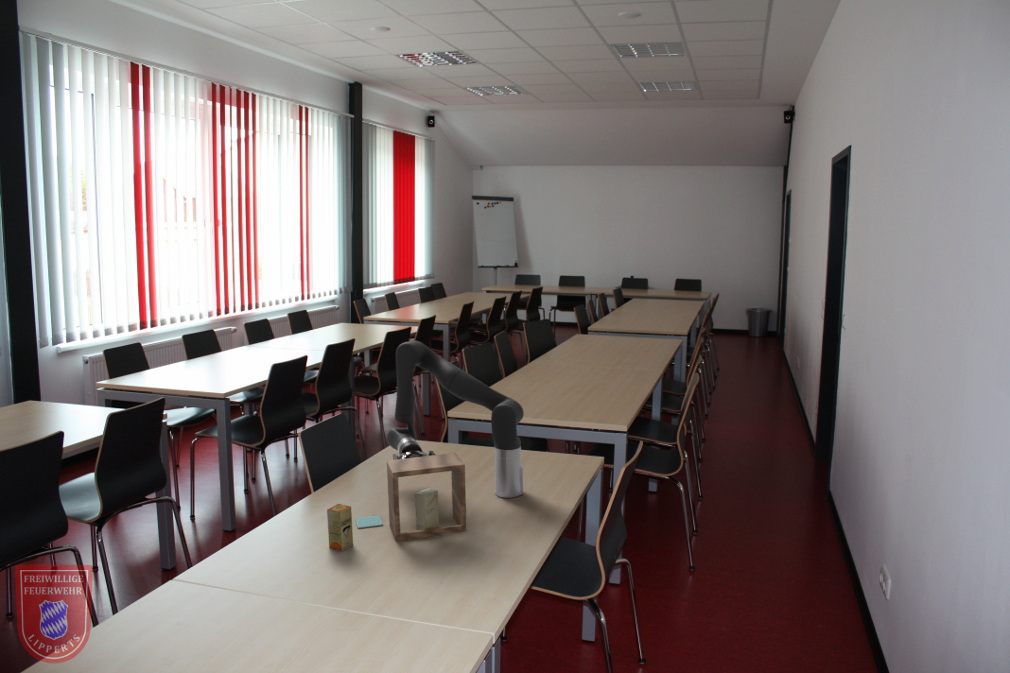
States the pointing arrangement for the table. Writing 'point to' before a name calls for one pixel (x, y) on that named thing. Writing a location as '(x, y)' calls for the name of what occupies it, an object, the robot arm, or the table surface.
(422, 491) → the skincare box
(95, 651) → the table surface
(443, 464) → the wooden square frame
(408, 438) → the robot arm
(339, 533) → the shoe polish box
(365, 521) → the mat
